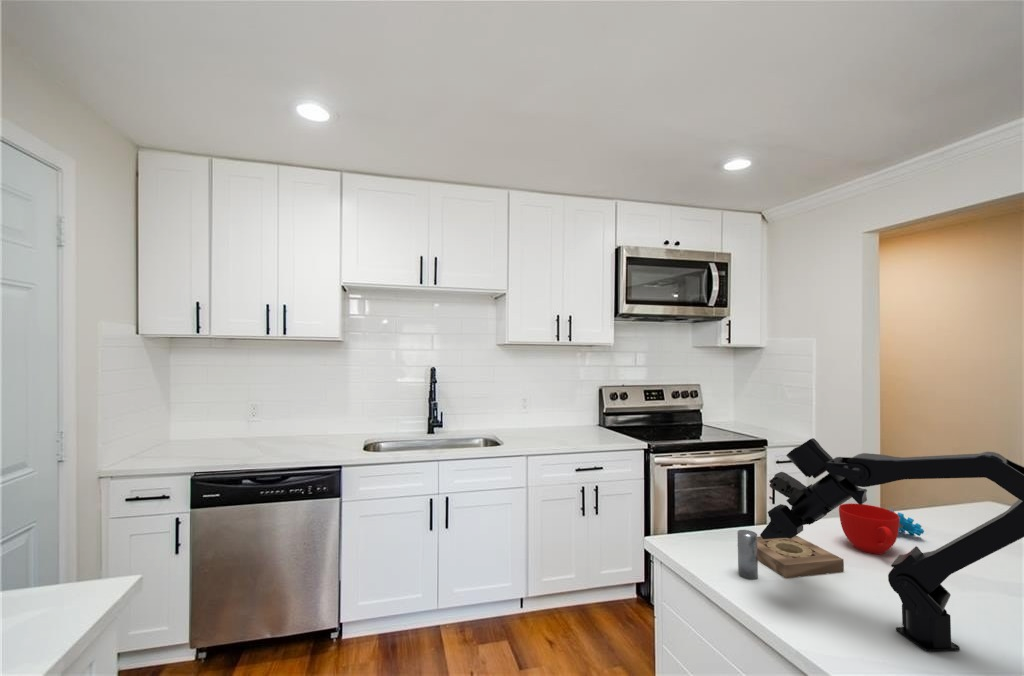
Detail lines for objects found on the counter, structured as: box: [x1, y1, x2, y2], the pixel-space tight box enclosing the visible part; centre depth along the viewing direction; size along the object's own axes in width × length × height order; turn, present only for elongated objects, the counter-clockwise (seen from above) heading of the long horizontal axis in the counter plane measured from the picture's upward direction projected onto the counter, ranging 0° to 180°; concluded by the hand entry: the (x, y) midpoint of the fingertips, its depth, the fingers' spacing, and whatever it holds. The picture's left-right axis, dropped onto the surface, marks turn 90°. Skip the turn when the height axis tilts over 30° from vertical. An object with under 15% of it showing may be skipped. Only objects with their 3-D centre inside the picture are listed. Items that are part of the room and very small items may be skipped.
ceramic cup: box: [838, 503, 900, 555], centre depth 122 cm, size 13×17×10 cm
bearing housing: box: [757, 535, 845, 579], centre depth 118 cm, size 16×16×3 cm
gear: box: [889, 509, 925, 537], centre depth 133 cm, size 11×6×10 cm
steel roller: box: [736, 529, 759, 581], centre depth 110 cm, size 4×4×10 cm
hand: (770, 531), depth 106 cm, fingers open, 9 cm apart
